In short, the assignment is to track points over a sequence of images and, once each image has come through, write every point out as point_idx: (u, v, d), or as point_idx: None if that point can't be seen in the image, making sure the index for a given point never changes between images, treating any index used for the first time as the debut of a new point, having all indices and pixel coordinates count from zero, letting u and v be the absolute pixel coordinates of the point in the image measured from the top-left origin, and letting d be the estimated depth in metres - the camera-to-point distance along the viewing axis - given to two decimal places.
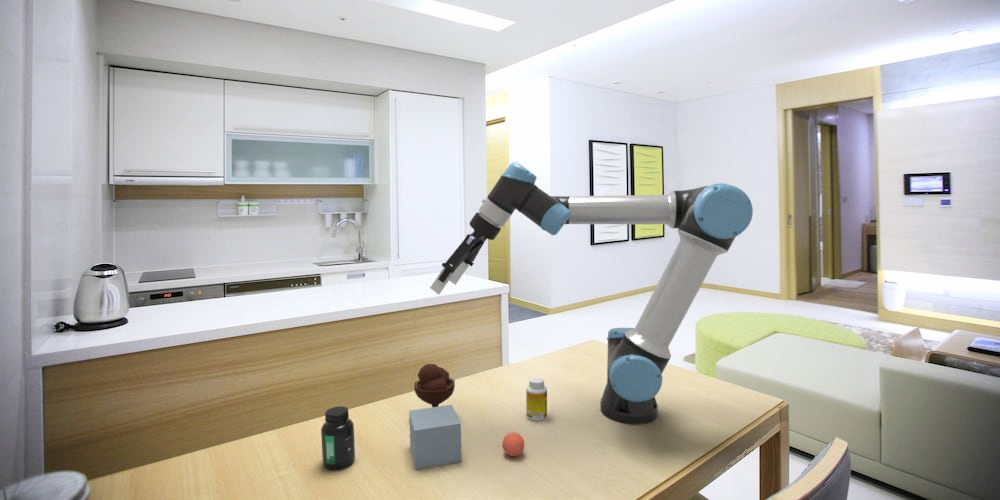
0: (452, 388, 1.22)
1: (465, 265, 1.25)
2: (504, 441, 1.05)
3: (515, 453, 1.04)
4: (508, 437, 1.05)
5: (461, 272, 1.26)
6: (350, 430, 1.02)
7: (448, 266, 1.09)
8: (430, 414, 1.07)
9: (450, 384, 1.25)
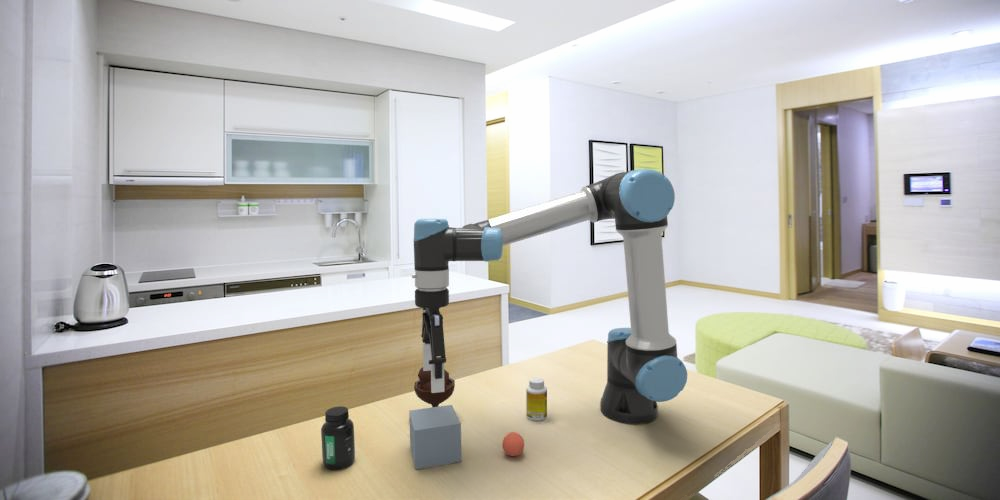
0: (452, 388, 1.22)
1: None
2: (504, 441, 1.05)
3: (515, 453, 1.04)
4: (508, 437, 1.05)
5: None
6: (350, 430, 1.02)
7: (439, 359, 0.95)
8: (430, 414, 1.07)
9: (450, 384, 1.25)
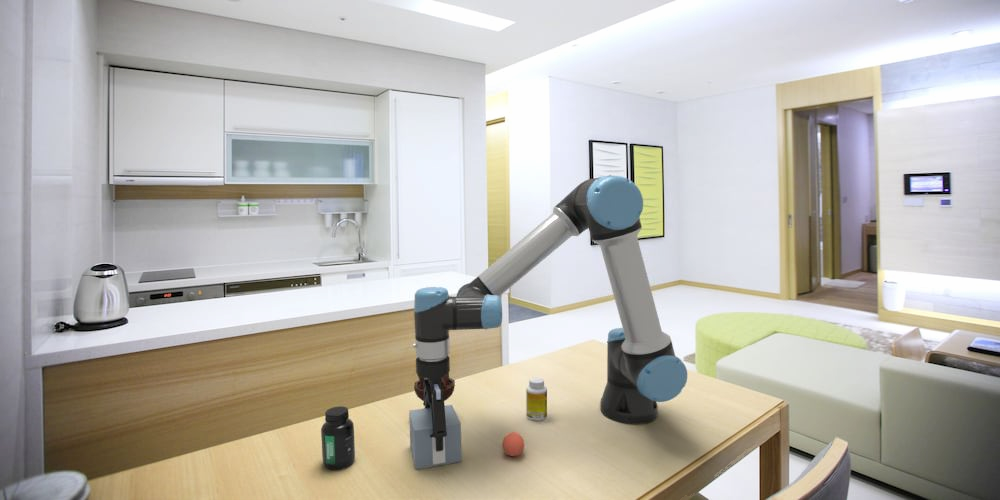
0: (452, 388, 1.22)
1: None
2: (504, 441, 1.05)
3: (515, 453, 1.04)
4: (508, 437, 1.05)
5: None
6: (350, 430, 1.02)
7: (440, 434, 0.98)
8: (430, 414, 1.07)
9: (450, 384, 1.25)
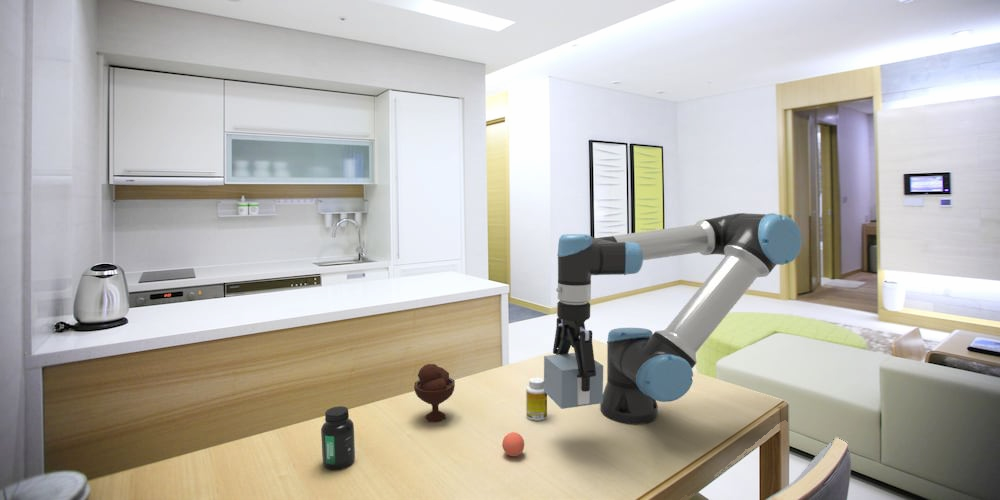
0: (452, 388, 1.22)
1: None
2: (504, 441, 1.05)
3: (515, 453, 1.04)
4: (508, 437, 1.05)
5: None
6: (350, 430, 1.02)
7: (590, 374, 1.00)
8: (567, 358, 1.10)
9: (450, 384, 1.25)
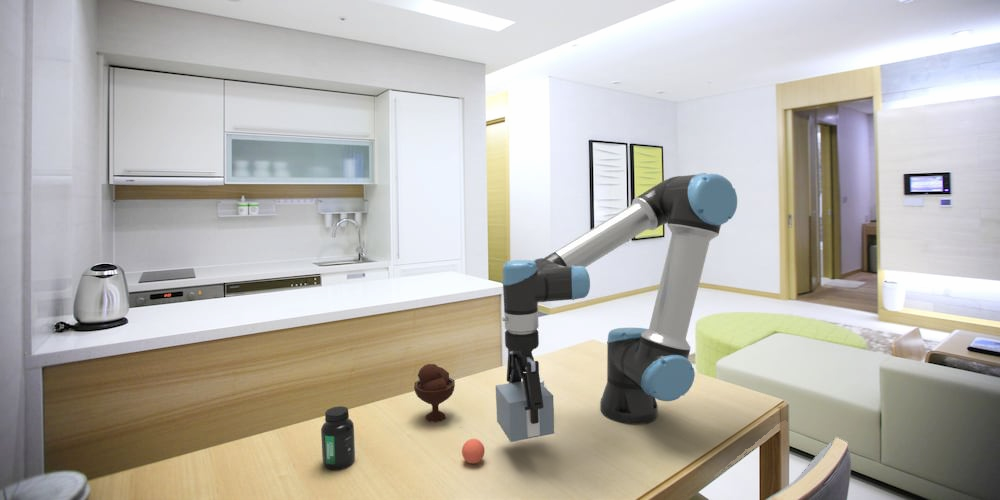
0: (452, 388, 1.22)
1: None
2: None
3: (474, 452, 1.01)
4: None
5: None
6: (350, 430, 1.02)
7: (537, 406, 0.97)
8: (518, 388, 1.07)
9: (450, 384, 1.25)
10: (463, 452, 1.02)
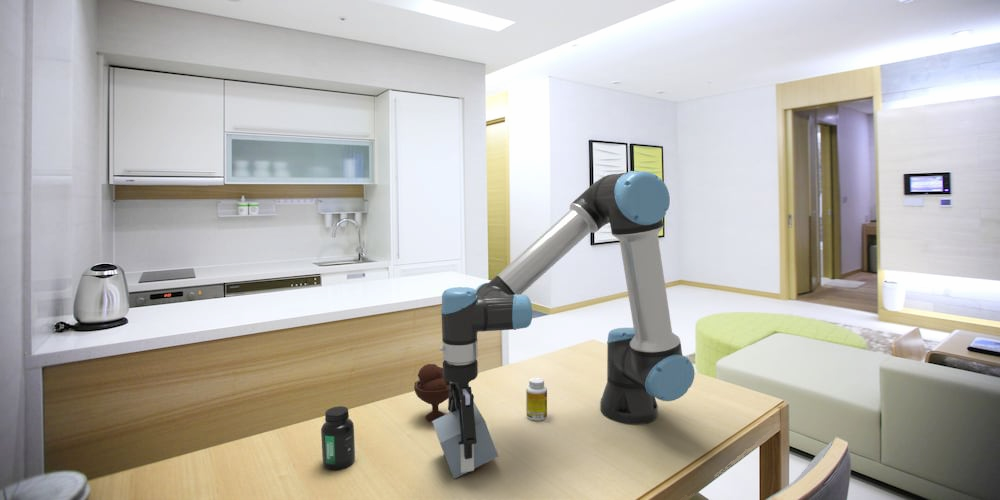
0: None
1: None
2: None
3: None
4: None
5: None
6: (350, 430, 1.02)
7: (470, 442, 0.93)
8: (453, 419, 1.03)
9: None
10: None
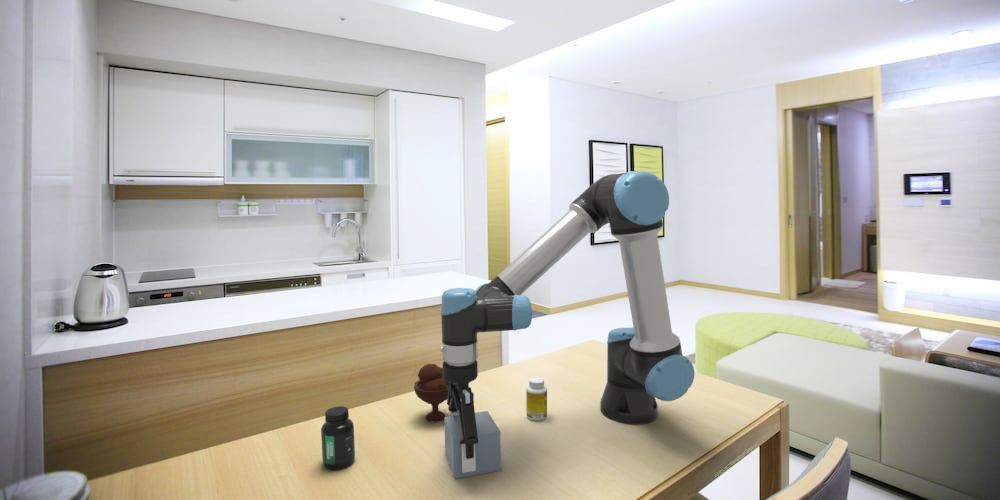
0: None
1: (458, 414, 1.08)
2: None
3: None
4: None
5: None
6: (350, 430, 1.02)
7: (471, 441, 0.92)
8: None
9: None
10: None
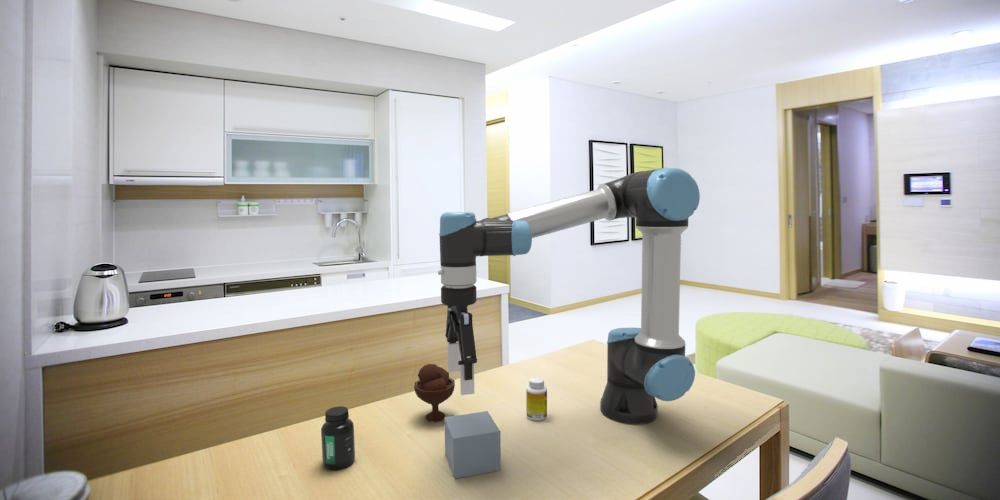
0: (452, 388, 1.22)
1: (456, 345, 1.06)
2: None
3: None
4: None
5: (457, 354, 1.07)
6: (350, 430, 1.02)
7: (470, 360, 0.90)
8: (467, 421, 1.04)
9: (450, 384, 1.25)
10: None
